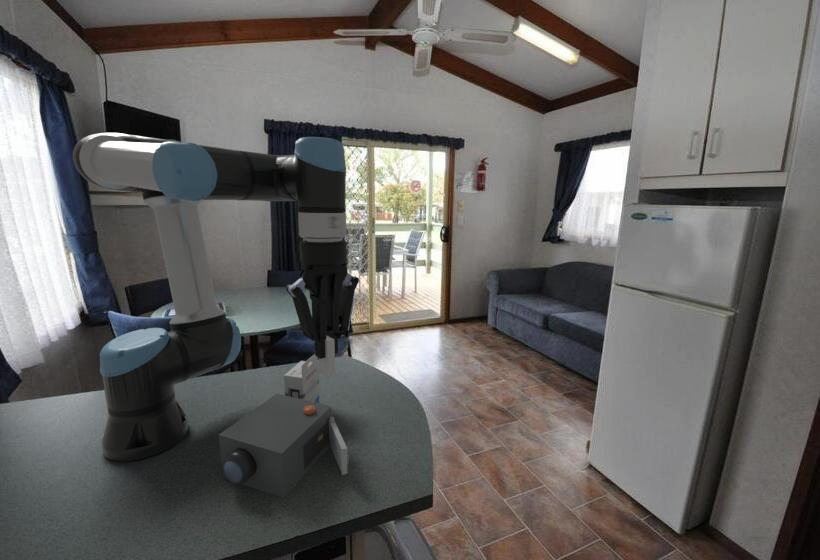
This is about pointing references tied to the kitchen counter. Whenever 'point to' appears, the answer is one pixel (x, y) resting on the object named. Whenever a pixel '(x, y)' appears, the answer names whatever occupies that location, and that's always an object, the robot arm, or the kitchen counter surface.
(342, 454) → the side door
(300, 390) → the ink box
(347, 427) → the kitchen counter surface
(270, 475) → the block
